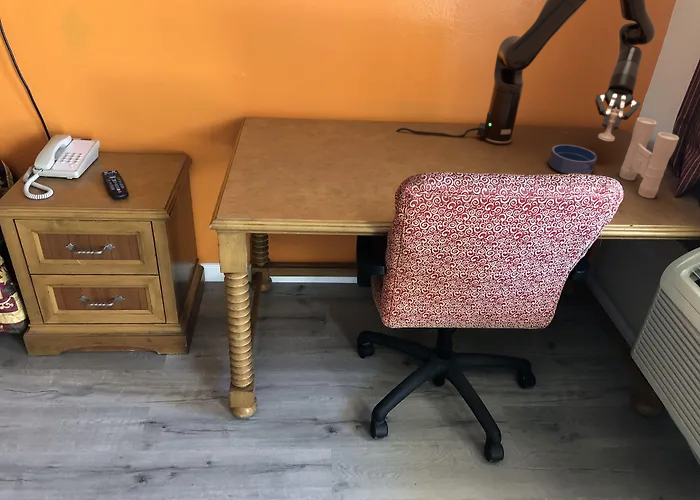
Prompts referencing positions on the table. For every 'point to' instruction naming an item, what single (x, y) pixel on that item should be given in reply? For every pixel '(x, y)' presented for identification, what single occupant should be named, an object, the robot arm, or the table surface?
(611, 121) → the chess piece
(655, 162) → the binoculars
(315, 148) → the table surface
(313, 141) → the table surface
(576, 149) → the bowl
